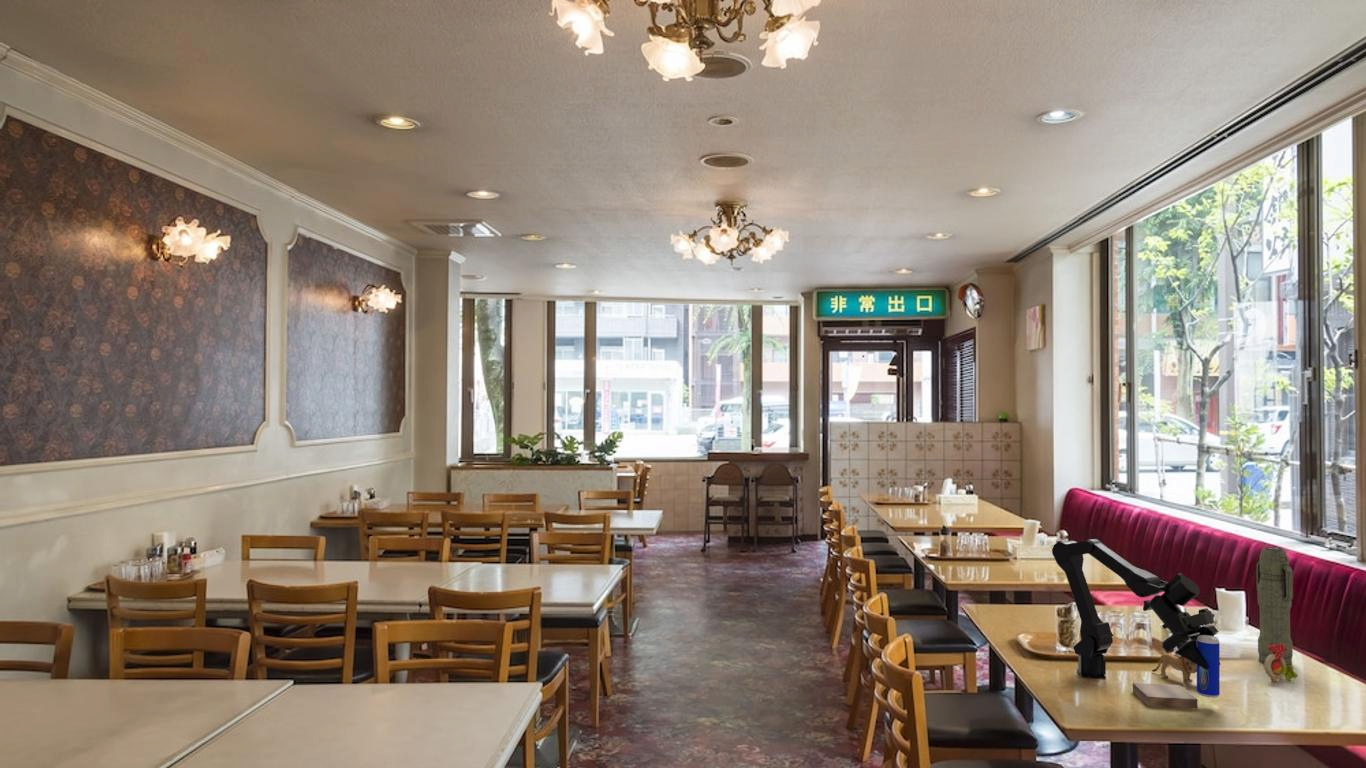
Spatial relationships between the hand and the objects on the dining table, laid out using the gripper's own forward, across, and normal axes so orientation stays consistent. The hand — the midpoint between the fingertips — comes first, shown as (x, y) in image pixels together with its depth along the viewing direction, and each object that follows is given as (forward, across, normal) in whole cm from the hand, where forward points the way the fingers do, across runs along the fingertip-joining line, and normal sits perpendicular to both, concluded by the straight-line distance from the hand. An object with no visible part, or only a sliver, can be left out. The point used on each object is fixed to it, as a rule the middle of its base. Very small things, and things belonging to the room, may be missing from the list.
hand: (1213, 667), depth 234 cm
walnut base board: (0, -4, +15) cm, 16 cm away
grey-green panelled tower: (0, +60, +16) cm, 62 cm away
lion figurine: (-5, +18, +21) cm, 28 cm away
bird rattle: (+6, +41, +9) cm, 43 cm away
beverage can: (+5, 0, +6) cm, 8 cm away
